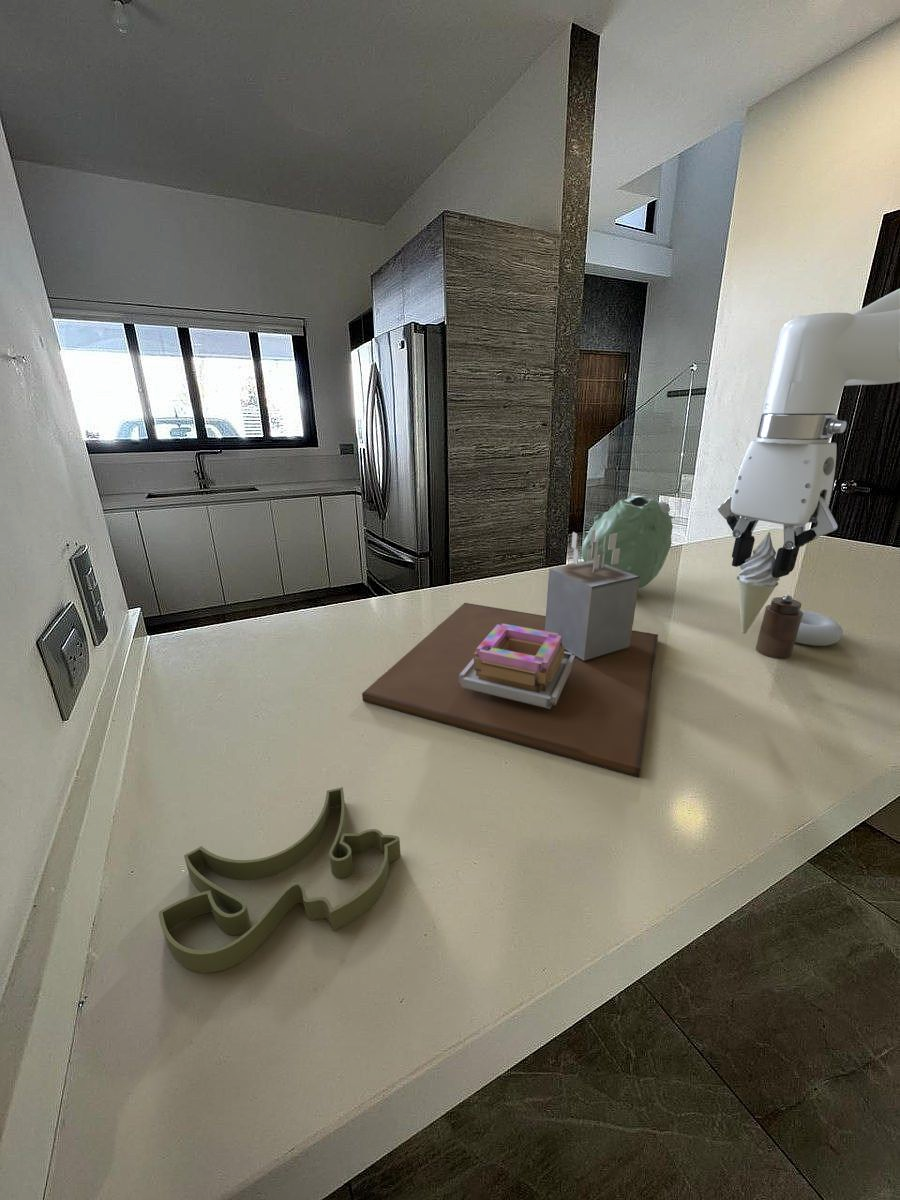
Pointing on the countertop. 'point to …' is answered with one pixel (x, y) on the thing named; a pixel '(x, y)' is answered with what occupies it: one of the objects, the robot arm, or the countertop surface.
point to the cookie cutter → (286, 900)
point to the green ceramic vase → (634, 536)
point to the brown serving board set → (540, 669)
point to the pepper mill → (779, 627)
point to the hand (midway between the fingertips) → (759, 568)
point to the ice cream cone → (756, 582)
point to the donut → (818, 630)
